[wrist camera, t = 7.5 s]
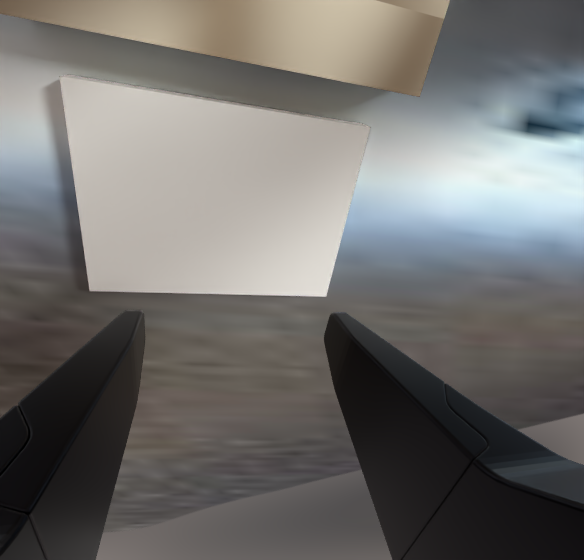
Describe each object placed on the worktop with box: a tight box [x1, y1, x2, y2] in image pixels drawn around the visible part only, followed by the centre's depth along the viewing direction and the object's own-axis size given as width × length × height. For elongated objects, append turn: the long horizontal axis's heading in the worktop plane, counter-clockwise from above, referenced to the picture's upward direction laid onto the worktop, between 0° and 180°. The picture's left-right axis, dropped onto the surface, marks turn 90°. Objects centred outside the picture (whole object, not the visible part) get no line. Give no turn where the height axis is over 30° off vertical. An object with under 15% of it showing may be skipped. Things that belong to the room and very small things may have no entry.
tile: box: [59, 75, 371, 297], centre depth 17 cm, size 12×9×1 cm
